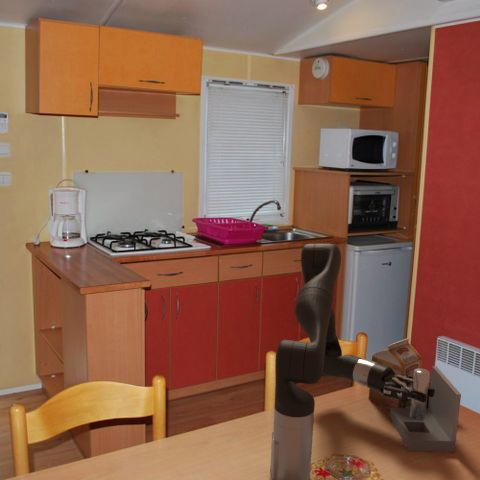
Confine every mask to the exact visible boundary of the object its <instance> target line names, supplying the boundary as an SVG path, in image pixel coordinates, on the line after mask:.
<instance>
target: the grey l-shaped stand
mask: <svg viewBox="0 0 480 480" xmlns="http://www.w3.org/2000/svg"><path fill="white" fill-rule="evenodd" d="M430 374H431V376H430V379H431V384H430V388H433V389H434V390H435V393H434V396H433V397H430V396H429V403H428V409H426V414H425V419H424V420H415V419H412V418H411V417H410V407H407V408H391V409H390V411H389V412H390V413H389V418H390V420H391V422H392V424H393V426H394V427H395V429H396V431H397V432H398V434H399V436H400V438H401V440H402V442H403V443H404V446H405V447H406V449H407V450H408V452H434V453H435V452H437V453H438V452H440V453H441V452H442V453H443V452H444V453H445V452H446V453H455V451H456V443H457V442H456V441H457V433H458V426H459V425H458V423H459V416H460V415H459V414H460V409H461V407H460V405H461V401H462V400H461V397H462V393H461V392H460V391H459V390H458V389H457V388H456V387H455V386H454V385H453V384H452V382H451V381H450V380H449V379H448V378H447V377H446V376H445V374H444V373H443V372H442V370H440V368H439V367H438V366H435V365H433V366H432V368H431V373H430Z"/></svg>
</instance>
